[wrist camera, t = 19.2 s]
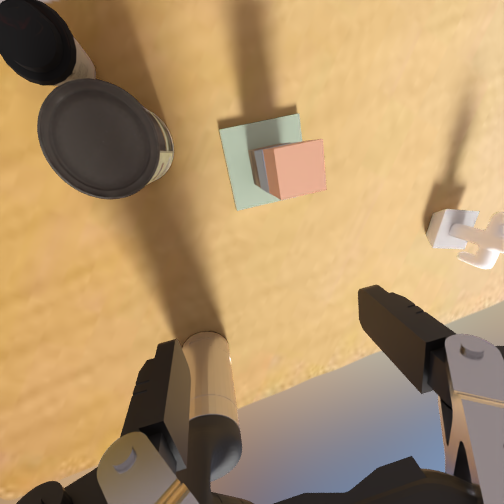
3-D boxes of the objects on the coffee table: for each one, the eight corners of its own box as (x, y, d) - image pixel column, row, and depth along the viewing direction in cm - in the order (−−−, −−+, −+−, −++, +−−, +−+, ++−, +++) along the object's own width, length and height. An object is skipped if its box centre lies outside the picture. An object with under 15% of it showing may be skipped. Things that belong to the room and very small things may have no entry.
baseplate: (305, 193, 44) (308, 194, 43) (236, 209, 43) (237, 210, 42) (296, 114, 39) (299, 113, 38) (218, 130, 38) (219, 129, 37)
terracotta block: (308, 184, 32) (326, 189, 27) (269, 193, 31) (281, 200, 27) (304, 141, 30) (322, 138, 25) (262, 149, 30) (273, 149, 25)
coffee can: (96, 96, 34) (32, 62, 21) (177, 115, 37) (164, 95, 24) (96, 176, 37) (39, 189, 24) (170, 189, 40) (155, 207, 27)
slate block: (295, 180, 37) (308, 184, 32) (261, 188, 36) (269, 194, 32) (290, 142, 35) (303, 141, 30) (254, 151, 34) (262, 150, 30)
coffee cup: (115, 94, 34) (83, 73, 25) (61, 106, 34) (8, 89, 25) (91, 30, 32) (45, -20, 23) (32, 41, 31) (-39, -5, 22)
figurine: (415, 246, 52) (493, 281, 38) (431, 199, 48) (522, 217, 35) (445, 248, 53) (531, 281, 39) (463, 201, 50) (563, 220, 36)
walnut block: (284, 177, 41) (295, 180, 37) (254, 184, 41) (260, 188, 36) (279, 143, 39) (290, 142, 35) (247, 150, 39) (253, 150, 34)
